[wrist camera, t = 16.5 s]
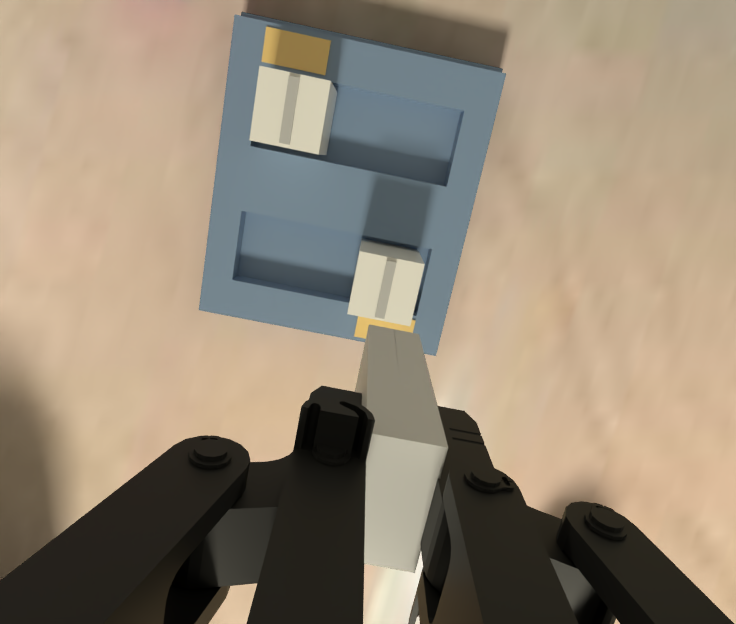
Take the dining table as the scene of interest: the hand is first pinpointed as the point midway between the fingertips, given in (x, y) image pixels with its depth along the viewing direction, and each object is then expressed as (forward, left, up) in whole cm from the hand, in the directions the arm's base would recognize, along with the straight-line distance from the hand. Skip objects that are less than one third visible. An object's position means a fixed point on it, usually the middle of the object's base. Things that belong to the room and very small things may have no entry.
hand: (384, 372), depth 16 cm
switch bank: (-3, +3, -24) cm, 25 cm away
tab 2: (+1, -1, -23) cm, 23 cm away
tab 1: (-7, +8, -23) cm, 25 cm away
